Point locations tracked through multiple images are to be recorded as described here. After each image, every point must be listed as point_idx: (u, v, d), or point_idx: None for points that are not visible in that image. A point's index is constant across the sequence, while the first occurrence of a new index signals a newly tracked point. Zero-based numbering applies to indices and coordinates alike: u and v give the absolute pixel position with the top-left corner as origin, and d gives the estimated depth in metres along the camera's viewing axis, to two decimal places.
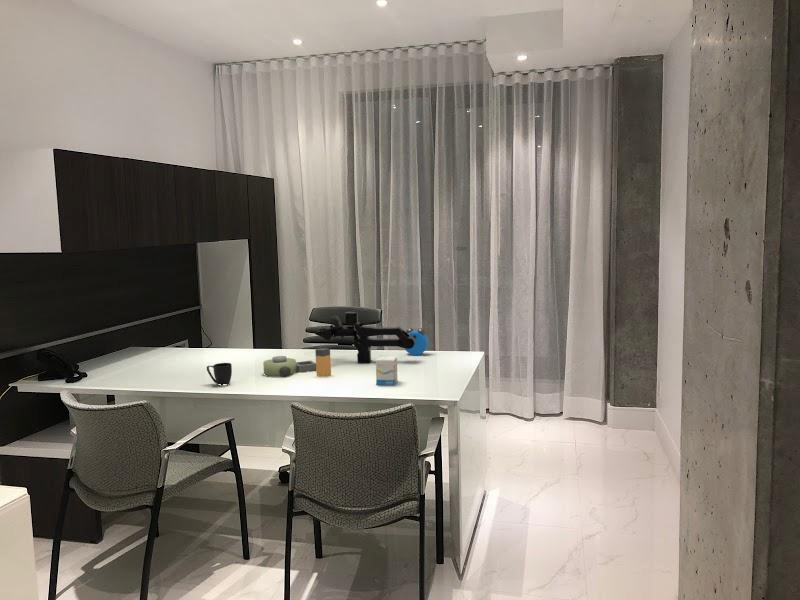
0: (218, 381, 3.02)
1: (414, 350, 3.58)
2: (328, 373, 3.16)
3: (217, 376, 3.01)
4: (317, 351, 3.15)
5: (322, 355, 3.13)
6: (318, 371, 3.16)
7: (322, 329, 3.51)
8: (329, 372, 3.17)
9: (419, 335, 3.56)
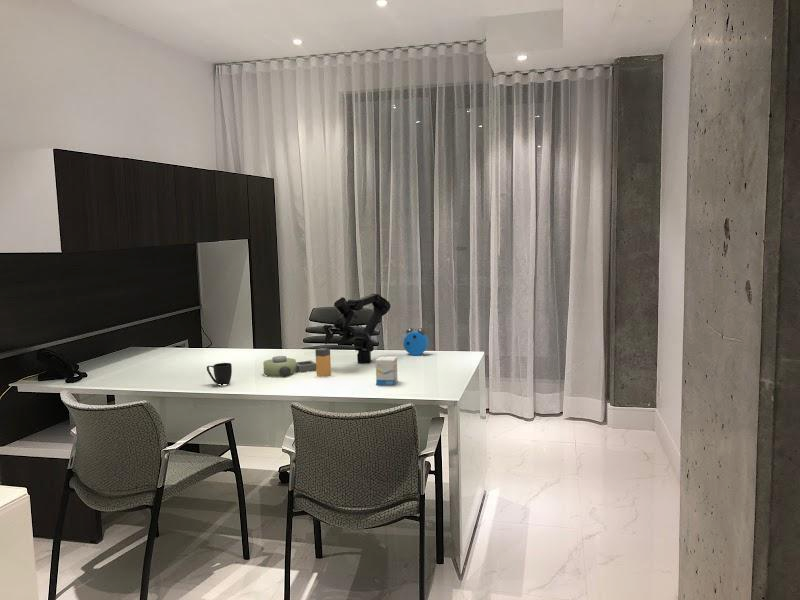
0: (218, 381, 3.02)
1: (414, 350, 3.58)
2: (328, 373, 3.16)
3: (217, 376, 3.01)
4: (317, 351, 3.15)
5: (322, 355, 3.13)
6: (318, 371, 3.16)
7: (326, 340, 3.26)
8: (329, 372, 3.17)
9: (419, 335, 3.56)
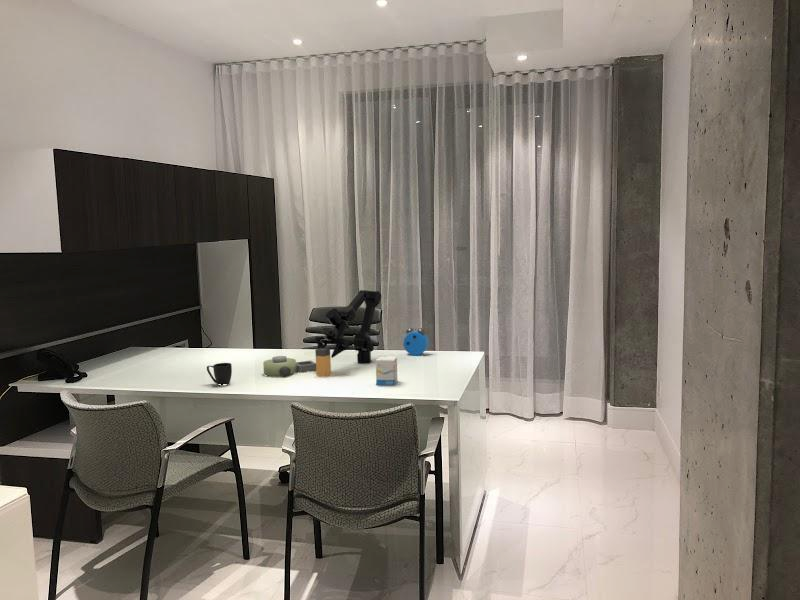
0: (218, 381, 3.02)
1: (414, 350, 3.58)
2: (328, 373, 3.16)
3: (217, 376, 3.01)
4: (317, 351, 3.15)
5: (322, 355, 3.13)
6: (318, 371, 3.16)
7: None
8: (329, 372, 3.17)
9: (419, 335, 3.56)
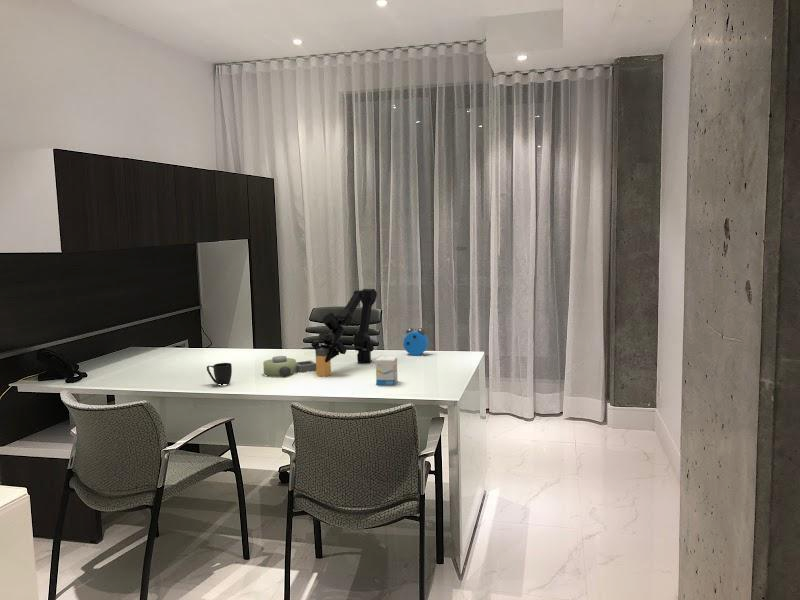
0: (218, 381, 3.02)
1: (414, 350, 3.58)
2: (328, 373, 3.16)
3: (217, 376, 3.01)
4: (317, 351, 3.15)
5: (322, 355, 3.13)
6: (318, 371, 3.16)
7: None
8: (329, 372, 3.17)
9: (419, 335, 3.56)
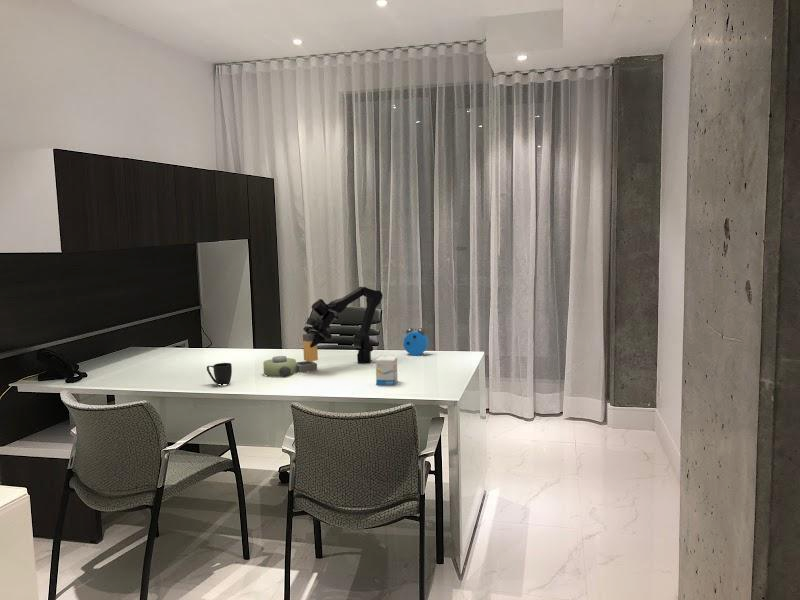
0: (218, 381, 3.02)
1: (414, 350, 3.58)
2: (314, 358, 3.22)
3: (217, 376, 3.01)
4: (304, 336, 3.21)
5: (307, 340, 3.19)
6: (305, 356, 3.22)
7: None
8: (315, 357, 3.22)
9: (419, 335, 3.56)
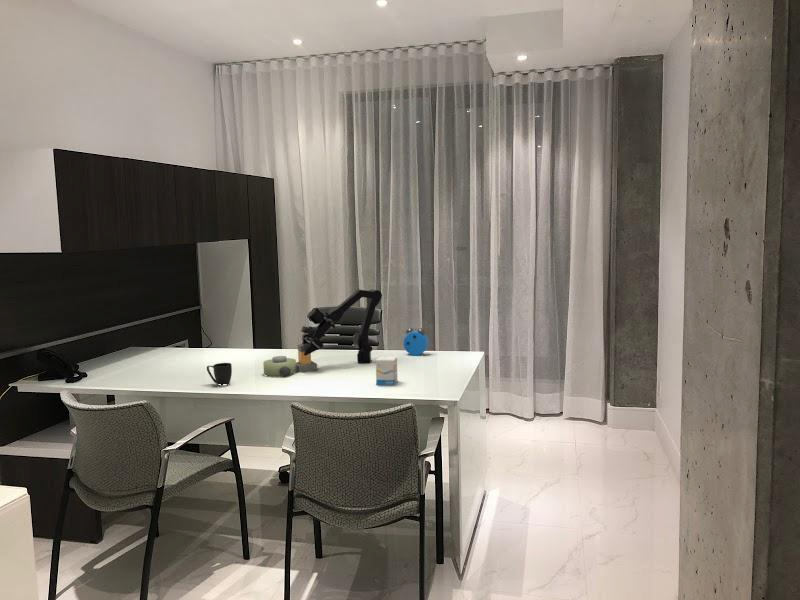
0: (218, 381, 3.02)
1: (414, 350, 3.58)
2: None
3: (217, 376, 3.01)
4: (298, 346, 3.29)
5: (300, 350, 3.27)
6: None
7: None
8: None
9: (419, 335, 3.56)
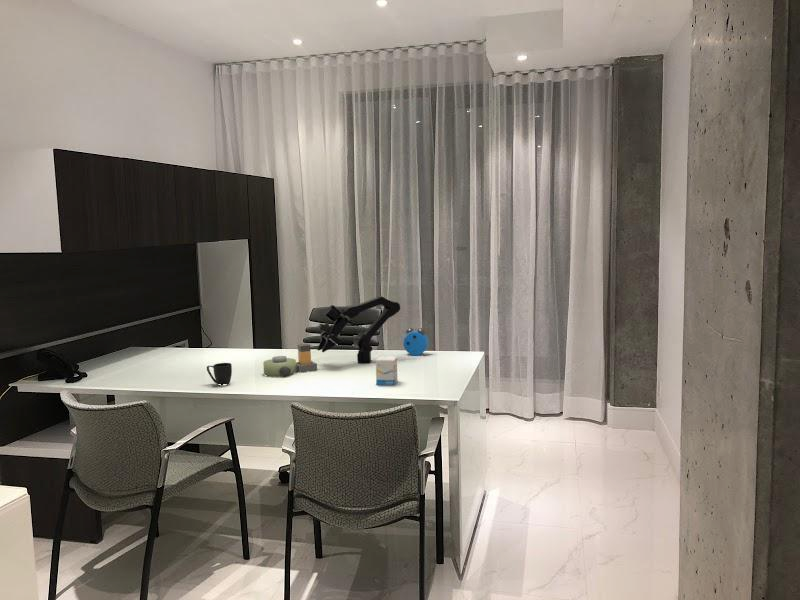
0: (218, 381, 3.02)
1: (414, 350, 3.58)
2: None
3: (217, 376, 3.01)
4: (298, 346, 3.29)
5: (300, 350, 3.27)
6: None
7: (319, 347, 3.38)
8: None
9: (419, 335, 3.56)
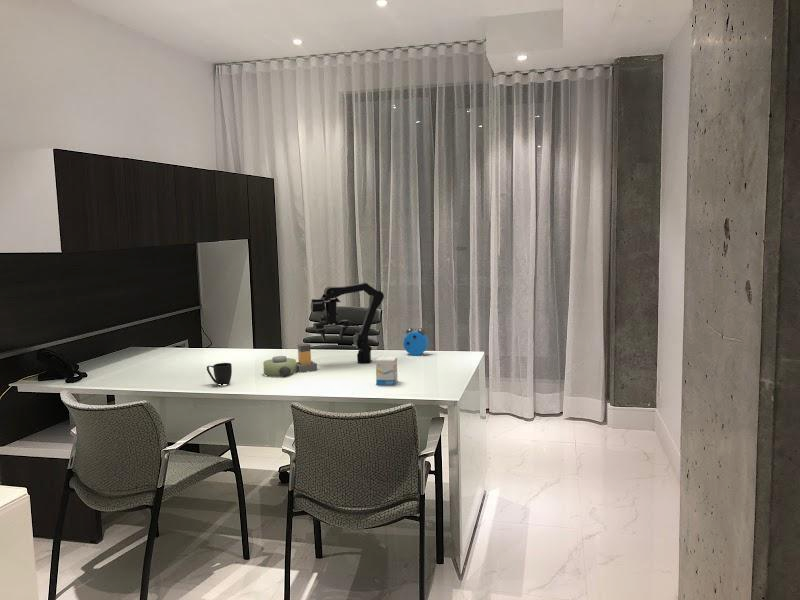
0: (218, 381, 3.02)
1: (414, 350, 3.58)
2: None
3: (217, 376, 3.01)
4: (298, 346, 3.29)
5: (300, 350, 3.27)
6: None
7: (340, 336, 3.40)
8: None
9: (419, 335, 3.56)
